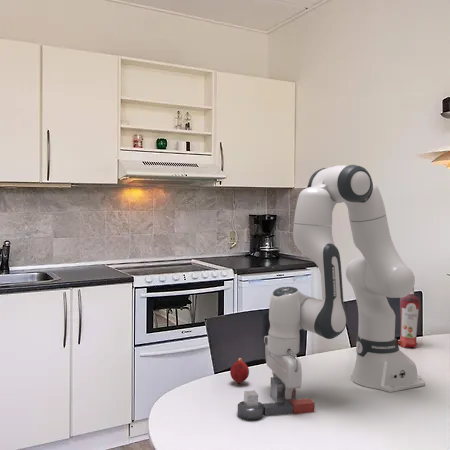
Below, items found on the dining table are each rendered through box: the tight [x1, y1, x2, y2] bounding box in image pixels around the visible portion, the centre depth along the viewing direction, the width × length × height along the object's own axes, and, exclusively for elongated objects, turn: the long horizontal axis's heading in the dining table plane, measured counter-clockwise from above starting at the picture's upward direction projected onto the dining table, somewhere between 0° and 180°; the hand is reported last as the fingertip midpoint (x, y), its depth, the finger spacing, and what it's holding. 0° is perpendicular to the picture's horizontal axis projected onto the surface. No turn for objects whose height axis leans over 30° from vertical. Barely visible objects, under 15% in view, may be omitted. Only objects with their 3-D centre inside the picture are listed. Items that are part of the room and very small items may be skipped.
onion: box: [229, 357, 250, 385], centre depth 154 cm, size 6×6×8 cm
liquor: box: [399, 275, 421, 349], centre depth 195 cm, size 7×7×28 cm
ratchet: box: [236, 389, 315, 422], centre depth 133 cm, size 21×7×6 cm, turn 104°
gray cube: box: [269, 376, 297, 403], centre depth 142 cm, size 6×6×6 cm
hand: (282, 392), depth 142 cm, fingers open, 7 cm apart
